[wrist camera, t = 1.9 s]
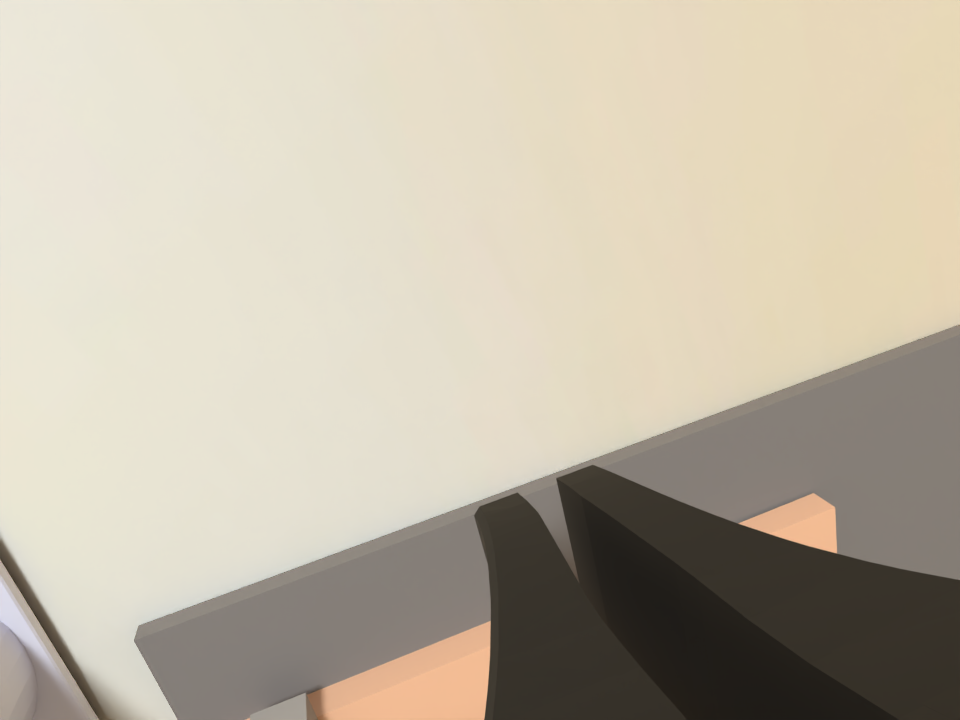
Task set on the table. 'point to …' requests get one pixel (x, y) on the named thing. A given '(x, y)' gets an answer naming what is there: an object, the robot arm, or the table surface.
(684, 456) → the mat
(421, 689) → the ticket
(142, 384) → the table surface
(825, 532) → the peach square slab
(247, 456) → the table surface
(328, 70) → the table surface
